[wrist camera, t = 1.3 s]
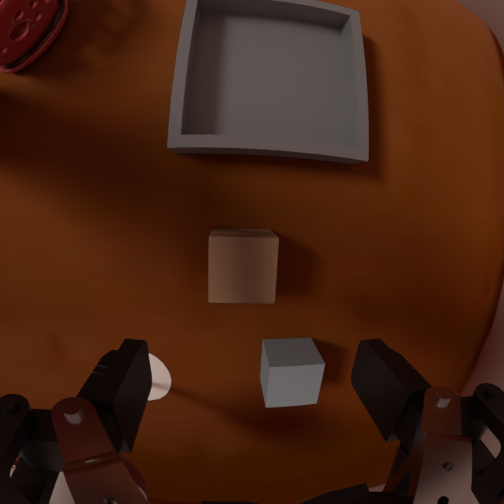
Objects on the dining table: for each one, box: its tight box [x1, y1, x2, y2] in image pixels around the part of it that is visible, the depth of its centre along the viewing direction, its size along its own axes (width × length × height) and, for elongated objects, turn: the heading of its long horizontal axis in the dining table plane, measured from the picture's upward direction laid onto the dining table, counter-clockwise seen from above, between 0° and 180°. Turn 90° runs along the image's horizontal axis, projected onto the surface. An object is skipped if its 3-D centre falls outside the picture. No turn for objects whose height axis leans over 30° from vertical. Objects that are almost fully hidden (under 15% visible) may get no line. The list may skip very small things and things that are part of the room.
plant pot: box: [0, 0, 69, 73], centre depth 12 cm, size 13×13×12 cm
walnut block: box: [208, 227, 279, 303], centre depth 23 cm, size 5×5×5 cm
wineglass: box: [49, 353, 171, 504], centre depth 18 cm, size 8×9×20 cm
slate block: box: [260, 338, 325, 408], centre depth 26 cm, size 5×5×5 cm
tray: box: [167, 0, 369, 164], centre depth 20 cm, size 16×16×4 cm
